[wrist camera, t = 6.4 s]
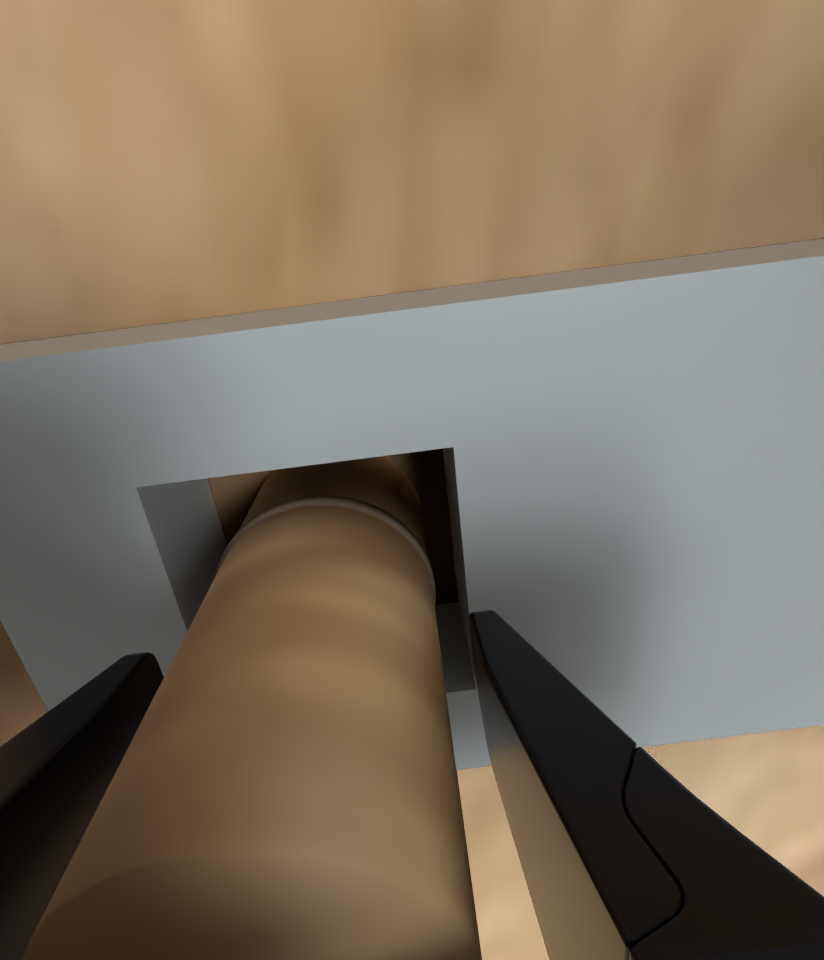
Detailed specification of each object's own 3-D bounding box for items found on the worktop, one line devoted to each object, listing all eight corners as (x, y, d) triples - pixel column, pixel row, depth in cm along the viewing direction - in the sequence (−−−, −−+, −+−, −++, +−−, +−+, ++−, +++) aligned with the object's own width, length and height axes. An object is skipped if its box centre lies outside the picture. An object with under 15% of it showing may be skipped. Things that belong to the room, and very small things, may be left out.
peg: (414, 430, 12) (473, 815, 4) (433, 582, 14) (501, 1077, 6) (233, 452, 12) (-79, 883, 4) (273, 602, 14) (109, 1124, 6)
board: (887, 230, 11) (1055, 226, 8) (802, 628, 15) (896, 715, 12) (1, 344, 11) (-127, 378, 8) (153, 709, 15) (100, 813, 12)
